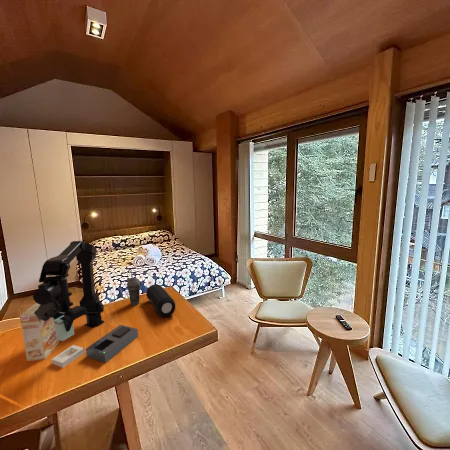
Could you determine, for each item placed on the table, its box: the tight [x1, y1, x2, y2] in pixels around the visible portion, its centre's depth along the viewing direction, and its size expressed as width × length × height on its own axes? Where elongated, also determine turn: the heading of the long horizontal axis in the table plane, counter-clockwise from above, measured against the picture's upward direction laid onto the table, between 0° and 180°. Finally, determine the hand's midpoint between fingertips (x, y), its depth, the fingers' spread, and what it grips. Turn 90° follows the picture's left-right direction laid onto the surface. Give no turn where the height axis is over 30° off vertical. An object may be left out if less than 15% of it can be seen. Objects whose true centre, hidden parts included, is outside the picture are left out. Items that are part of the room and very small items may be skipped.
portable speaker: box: [146, 283, 176, 318], centre depth 137 cm, size 26×10×10 cm, turn 31°
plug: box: [54, 315, 75, 342], centre depth 96 cm, size 3×5×8 cm
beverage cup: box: [126, 270, 141, 306], centre depth 142 cm, size 7×7×20 cm
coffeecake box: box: [19, 302, 61, 362], centre depth 103 cm, size 15×7×20 cm, turn 9°
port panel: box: [85, 324, 139, 364], centre depth 105 cm, size 10×18×5 cm, turn 158°
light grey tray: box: [51, 344, 86, 369], centre depth 98 cm, size 6×9×2 cm, turn 158°
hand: (64, 330), depth 96 cm, fingers closed on plug, 3 cm apart
